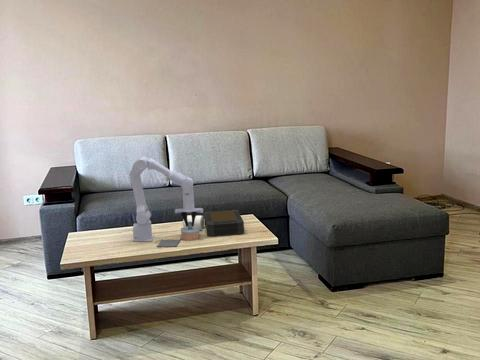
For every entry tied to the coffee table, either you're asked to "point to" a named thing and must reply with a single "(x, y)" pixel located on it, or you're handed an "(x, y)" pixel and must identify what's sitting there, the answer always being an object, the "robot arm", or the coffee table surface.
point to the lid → (190, 229)
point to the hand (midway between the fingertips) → (190, 225)
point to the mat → (168, 243)
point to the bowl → (190, 236)
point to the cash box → (223, 223)
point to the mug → (198, 221)
